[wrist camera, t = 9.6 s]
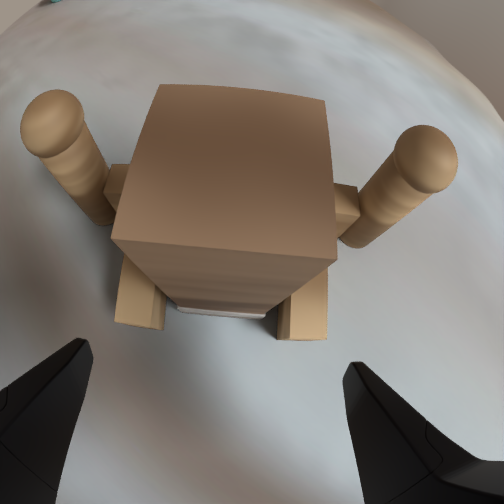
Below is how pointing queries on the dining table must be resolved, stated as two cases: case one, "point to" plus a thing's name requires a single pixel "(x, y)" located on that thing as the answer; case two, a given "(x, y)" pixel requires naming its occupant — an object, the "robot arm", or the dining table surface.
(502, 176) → the dining table surface
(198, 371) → the dining table surface
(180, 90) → the block
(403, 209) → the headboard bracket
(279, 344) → the dining table surface
